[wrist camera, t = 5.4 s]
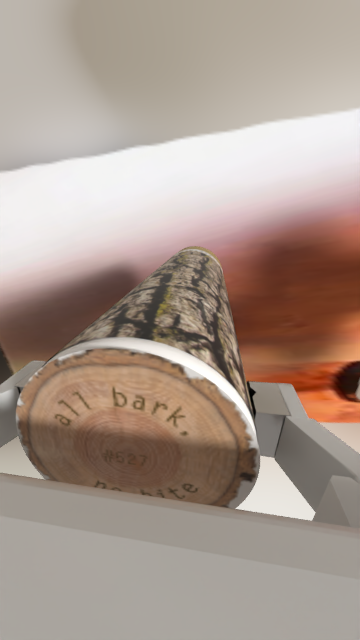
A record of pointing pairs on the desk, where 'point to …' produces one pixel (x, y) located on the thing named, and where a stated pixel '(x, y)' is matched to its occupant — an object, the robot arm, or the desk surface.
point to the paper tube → (150, 395)
